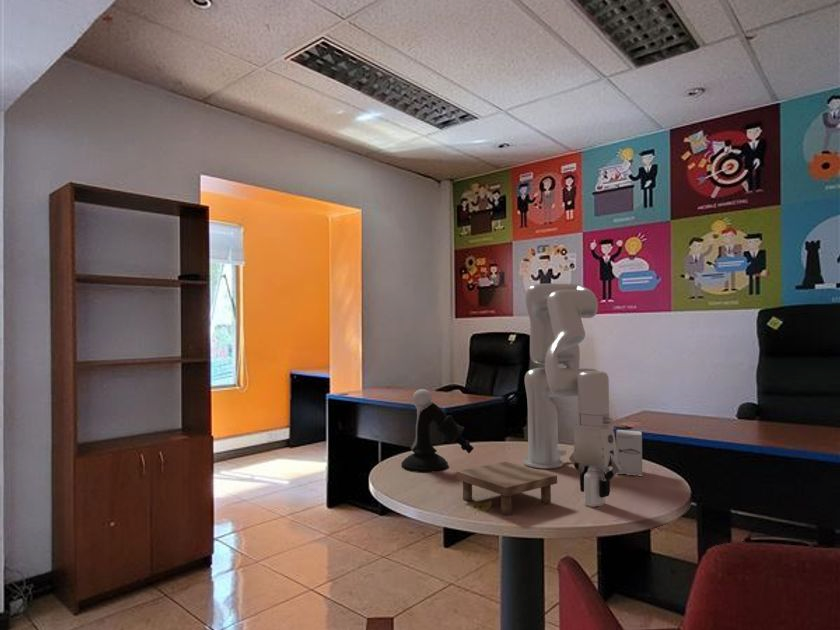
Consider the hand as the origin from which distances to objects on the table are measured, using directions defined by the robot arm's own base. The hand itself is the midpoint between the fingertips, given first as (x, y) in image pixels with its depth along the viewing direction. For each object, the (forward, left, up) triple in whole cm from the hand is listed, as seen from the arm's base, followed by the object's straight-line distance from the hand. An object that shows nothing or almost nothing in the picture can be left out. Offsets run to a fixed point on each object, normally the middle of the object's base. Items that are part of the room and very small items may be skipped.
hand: (594, 492), depth 129 cm
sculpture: (+9, -53, -3) cm, 54 cm away
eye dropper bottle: (0, 0, -3) cm, 3 cm away
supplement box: (-34, -12, -3) cm, 36 cm away
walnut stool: (+16, -15, -3) cm, 22 cm away
